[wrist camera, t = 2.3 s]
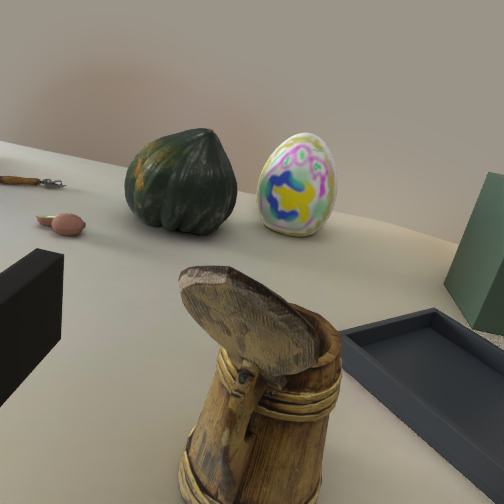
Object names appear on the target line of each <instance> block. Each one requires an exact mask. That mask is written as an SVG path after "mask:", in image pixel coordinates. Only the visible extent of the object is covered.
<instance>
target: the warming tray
mask: <svg viewBox="0 0 504 504" xmlns="http://www.w3.org/2000/svg"><path fill="white" fill-rule="evenodd" d="M338 333H339V335H340V336H341V343H342V349H341V355H340V358H341V360H342V368H343V369H344V370H346V371H347V372H348V373H349V374H350V375H351V376H352V377H354V378H355V379H356V380H357V381H358V382H359V383H360V384H361V385H363V386H364V387H365V388H366V389H367V390H368V391H369V392H370V393H372V394H373V395H374V396H375V397H376V398H377V399H378V400H380V401H381V402H382V403H383V404H384V405H385V406H386V407H387V408H389V409H390V410H391V411H392V412H393V413H394V414H395V415H397V416H398V417H399V418H400V419H401V420H402V421H403V422H404V423H406V424H407V425H408V426H409V427H410V428H411V429H412V430H414V431H415V432H416V433H417V434H418V435H419V436H420V437H421V438H423V439H424V440H425V441H426V442H427V443H428V444H429V445H431V446H432V447H433V448H434V449H435V450H436V451H437V452H438V453H440V454H441V455H442V456H443V457H444V458H445V459H446V460H448V461H449V462H450V463H451V464H452V465H453V466H454V467H455V468H457V469H458V470H459V471H460V472H461V473H462V474H463V475H465V476H466V477H467V478H468V479H469V480H470V481H471V482H472V483H474V484H475V485H476V486H477V487H478V488H479V489H480V490H482V491H483V492H484V493H485V494H486V495H487V496H488V497H489V498H491V499H492V500H493V501H494V502H495V503H496V504H504V442H503V441H504V350H502V349H501V348H499V347H498V346H496V345H494V344H493V343H491V342H489V341H488V340H486V339H485V338H483V337H481V336H480V335H478V334H476V333H475V332H473V331H472V330H470V329H468V328H467V327H465V326H463V325H462V324H460V323H459V322H457V321H455V320H454V319H452V318H451V317H449V316H447V315H446V314H444V313H442V312H441V311H439V310H437V309H436V308H430V309H426V310H422V311H418V312H414V313H410V314H406V315H402V316H398V317H394V318H390V319H386V320H382V321H378V322H374V323H370V324H366V325H362V326H358V327H354V328H350V329H346V330H342V331H338Z"/></svg>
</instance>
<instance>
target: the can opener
mask: <svg viewBox="0 0 504 504" xmlns="http://www.w3.org/2000/svg"><path fill="white" fill-rule="evenodd" d="M48 180H50V179H44V180H43V181H40V179H37V178H22V177H14V176H0V183H4V184H28V185H40V183H42V184H44V185H46V186H49V187H63V186H66V185H62V182H61V180H56V181H53V182H51V181H52V180H50V181H48ZM56 182H61V184H60V185H58V184H55V183H56ZM53 184H54V185H53Z"/></svg>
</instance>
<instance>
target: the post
mask: <svg viewBox="0 0 504 504" xmlns="http://www.w3.org/2000/svg"><path fill="white" fill-rule="evenodd" d="M444 285H445V286H446V288H447V289H448V291H449V293H450V294H451V296H452V297H453V299H454V301H455V302H456V304H457V305H458V307H459V309H460V310H461V312H462V313H463V315H464V317H465V318H466V320H467V321H468V323H469V325H470V326H471V328H472V329H476V330H480V331H485V332H489V333H494V334H498V335H503V336H504V175H500V174H496V173H491V172H488V174H487V177H486V179H485V182H484V184H483V187H482V189H481V192H480V194H479V197H478V199H477V202H476V204H475V207H474V209H473V212H472V214H471V217H470V219H469V222H468V224H467V227H466V229H465V232H464V234H463V237H462V239H461V242H460V244H459V247H458V249H457V252H456V254H455V257H454V259H453V262H452V264H451V267H450V269H449V272H448V274H447V277H446V279H445V282H444Z"/></svg>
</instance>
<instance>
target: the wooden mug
mask: <svg viewBox="0 0 504 504" xmlns="http://www.w3.org/2000/svg"><path fill="white" fill-rule="evenodd" d="M179 286H180V293H181V298H182V301H183V303H184V306H185V307H186V309H187V311H188V312H189V314H190V315H191V316H192V317H193V318H194V320H195V321H196V322H197V323H198V324H199V325H200V326H201V327H202V328H203V329H204V330H205V331H206V332H207V333H208V334H209V335H210V336H211V337H212V338H213V339H214V340H215V341H217V342H218V343H219V344H220V345H221V347H220V349H219V352H218V357H217V362H216V367H217V370H216V373H215V376H214V379H213V381H212V384H211V387H210V390H209V392H208V395H207V398H206V401H205V403H204V406H203V409H202V412H201V414H200V417H199V420H198V422H197V425H196V426H195V427H194V428H193V429H192V431H191V432H190V434H189V436H188V439H187V442H186V445H185V448H184V451H183V454H182V457H181V462H180V467H179V473H178V477H179V484H180V490H181V494H182V496H183V498H184V499H185V501H186V502H187V504H316V501H317V497H318V494H319V490H320V487H321V483H322V458H323V451H324V445H325V439H326V432H327V426H328V420H329V413H330V412H331V411H332V410H333V409H334V407H335V405H336V402H337V398H338V395H339V389H340V382H341V375H342V360H341V358H340V355H341V349H342V343H341V336H340V335H339V333H338V332H337V330H336V329H335V328H334V327H333V326H332V325H331V324H330V323H329V322H328V321H327V320H326V319H324V318H323V317H322V316H321V315H319V314H317V313H314V312H312V311H309V310H307V309H305V308H303V307H300V306H298V305H296V304H292V303H288V302H287V301H286V300H284V299H283V298H282V297H281V296H279V295H278V294H276V293H275V292H273V291H272V290H270V289H269V288H267V287H266V286H264V285H263V284H261V283H259V282H257V281H256V280H254V279H252V278H250V277H248V276H246V275H245V274H243V273H241V272H239V271H237V270H236V269H234V268H232V267H230V266H195V267H189V268H187V269H185V270H184V271H182V272H181V274H180V276H179Z"/></svg>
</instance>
